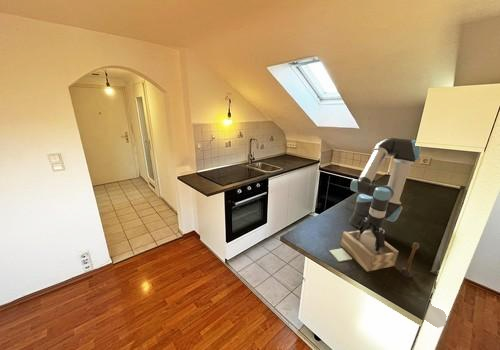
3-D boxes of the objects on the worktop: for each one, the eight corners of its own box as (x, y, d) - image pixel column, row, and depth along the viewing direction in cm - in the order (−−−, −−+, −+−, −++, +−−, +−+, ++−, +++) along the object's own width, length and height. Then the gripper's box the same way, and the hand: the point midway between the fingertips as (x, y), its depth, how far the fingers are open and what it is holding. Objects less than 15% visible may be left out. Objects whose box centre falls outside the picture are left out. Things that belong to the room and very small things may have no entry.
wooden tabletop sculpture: (402, 268, 113) (413, 238, 106) (412, 274, 109) (424, 243, 102) (398, 273, 109) (409, 242, 102) (408, 279, 106) (420, 247, 99)
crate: (364, 241, 134) (367, 228, 131) (393, 265, 114) (398, 251, 111) (340, 244, 130) (343, 231, 127) (367, 271, 110) (371, 256, 107)
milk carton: (357, 254, 122) (363, 227, 116) (361, 249, 127) (368, 222, 120) (370, 261, 117) (378, 232, 111) (373, 255, 122) (381, 227, 116)
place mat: (342, 248, 126) (342, 248, 126) (352, 259, 118) (352, 258, 118) (329, 251, 124) (329, 250, 124) (338, 261, 116) (338, 261, 116)
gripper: (356, 206, 122) (348, 237, 130) (388, 227, 102) (377, 263, 110) (366, 204, 124) (358, 236, 132) (400, 225, 104) (388, 260, 111)
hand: (367, 248), depth 121 cm, fingers closed on milk carton, 10 cm apart
